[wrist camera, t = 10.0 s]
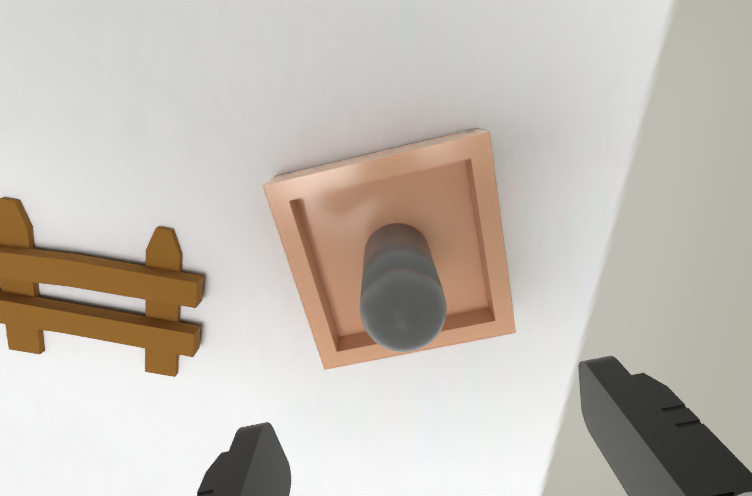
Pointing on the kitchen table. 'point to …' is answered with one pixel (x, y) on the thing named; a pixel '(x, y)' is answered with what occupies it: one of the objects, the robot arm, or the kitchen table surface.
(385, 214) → the dish
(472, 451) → the kitchen table surface
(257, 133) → the kitchen table surface
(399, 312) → the plug
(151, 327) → the decorative fence
